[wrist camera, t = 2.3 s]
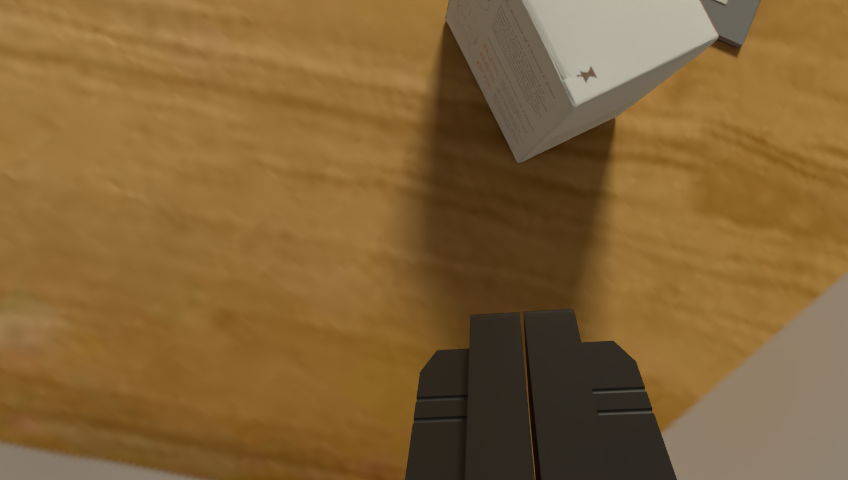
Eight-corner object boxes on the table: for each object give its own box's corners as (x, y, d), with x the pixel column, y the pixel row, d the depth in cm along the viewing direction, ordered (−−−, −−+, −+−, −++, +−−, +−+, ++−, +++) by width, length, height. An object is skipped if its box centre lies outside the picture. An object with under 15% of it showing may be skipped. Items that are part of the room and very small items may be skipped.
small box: (618, 117, 33) (727, 42, 22) (514, 167, 32) (576, 113, 22) (545, -31, 33) (619, -175, 23) (441, 16, 33) (467, -109, 22)
